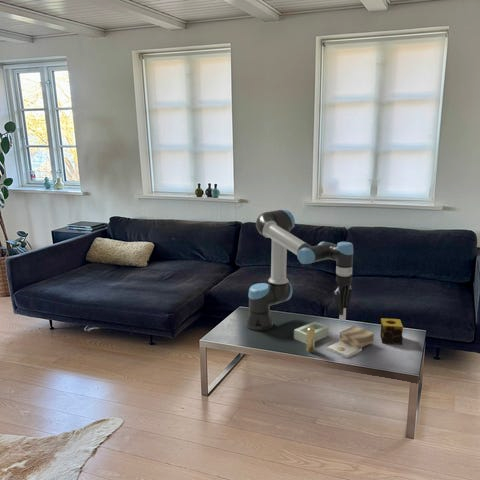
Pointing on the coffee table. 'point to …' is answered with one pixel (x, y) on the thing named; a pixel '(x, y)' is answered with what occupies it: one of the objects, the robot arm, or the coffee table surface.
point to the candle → (391, 331)
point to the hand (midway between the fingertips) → (342, 320)
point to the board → (343, 349)
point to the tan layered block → (356, 337)
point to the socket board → (320, 332)
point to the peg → (310, 339)
